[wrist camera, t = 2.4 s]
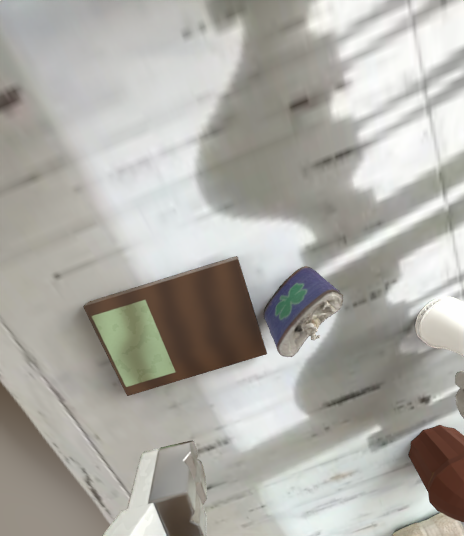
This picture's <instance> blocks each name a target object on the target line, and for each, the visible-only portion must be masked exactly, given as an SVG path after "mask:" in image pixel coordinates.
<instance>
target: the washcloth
mask: <svg viewBox="0 0 464 536" xmlns="http://www.w3.org/2000/svg"><path fill="white" fill-rule="evenodd" d="M392 536H464V528H463V526H462V525H461V523H460V521H458V520H455V519H452V518H450V517H448V516H446V515H445V514H443V513H439V514H436V515H434V516H432V517H431V518H430V519H428V520H424V521H421V522H420V523H414V524H411V525H409V526H407V527H404V528H402V529H400V530H398V531H396V532H394V533H393V535H392Z"/></svg>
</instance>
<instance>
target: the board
mask: <svg viewBox="0 0 464 536" xmlns="http://www.w3.org/2000/svg"><path fill="white" fill-rule="evenodd" d="M84 309H85V311H86V313H87V315H88V317H89V319H90V321H91V323H92V325H93V327H94V329H95V331H96V334H97V336H98V338H99V340H100V342H101V344H102V346H103V348H104V350H105V352H106V354H107V356H108V358H109V360H110V362H111V364H112V366H113V368H114V370H115V372H116V374H117V376H118V378H119V380H120V382H121V384H122V386H123V388H124V390H125V392H126V394H127V396H129V395H132V394H136V393H139V392H142V391H146V390H149V389H152V388H156V387H159V386H162V385H166V384H169V383H172V382H176V381H179V380H182V379H186V378H189V377H192V376H196V375H199V374H202V373H206V372H209V371H212V370H216V369H219V368H222V367H226V366H229V365H232V364H236V363H239V362H242V361H246V360H249V359H252V358H256V357H259V356H262V355H266V354H267V352H266V349H265V346H264V342H263V339H262V336H261V332H260V329H259V326H258V323H257V319H256V316H255V313H254V309H253V306H252V303H251V300H250V296H249V293H248V290H247V287H246V283H245V280H244V277H243V273H242V270H241V267H240V264H239V260H238V257H237V256H236V257H232V258H229V259H226V260H223V261H220V262H216V263H213V264H210V265H207V266H203V267H200V268H197V269H194V270H190V271H187V272H184V273H181V274H177V275H174V276H171V277H168V278H164V279H161V280H158V281H155V282H151V283H148V284H145V285H142V286H138V287H135V288H132V289H129V290H126V291H122V292H119V293H116V294H113V295H109V296H106V297H103V298H100V299H96V300H93V301H90V302H88V303H87V304H86V305H85V306H84Z"/></svg>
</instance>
